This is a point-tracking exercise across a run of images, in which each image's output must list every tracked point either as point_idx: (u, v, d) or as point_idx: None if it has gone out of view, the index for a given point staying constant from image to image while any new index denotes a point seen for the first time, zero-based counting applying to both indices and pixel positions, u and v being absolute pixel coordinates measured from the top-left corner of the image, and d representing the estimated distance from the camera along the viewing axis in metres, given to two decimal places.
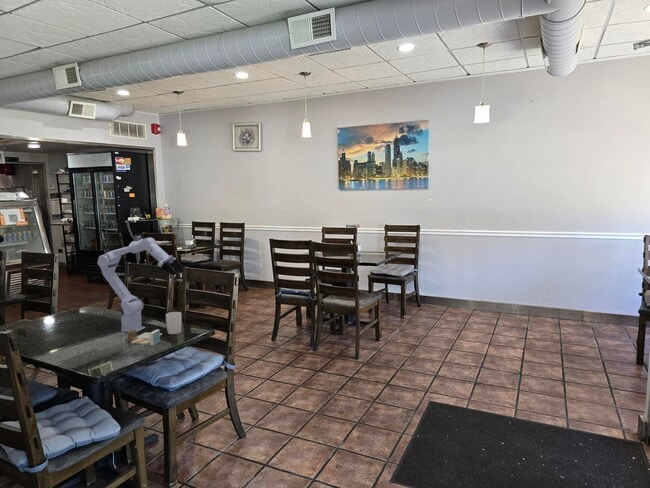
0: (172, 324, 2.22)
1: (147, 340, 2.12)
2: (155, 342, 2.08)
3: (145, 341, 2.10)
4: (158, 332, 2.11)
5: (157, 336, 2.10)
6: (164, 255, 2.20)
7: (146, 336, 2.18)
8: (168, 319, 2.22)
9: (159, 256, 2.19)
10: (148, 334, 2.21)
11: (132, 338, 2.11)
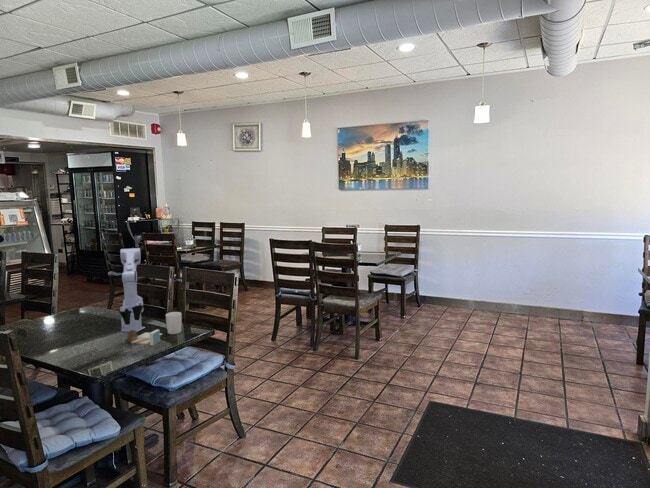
0: (172, 324, 2.22)
1: (147, 340, 2.12)
2: (155, 342, 2.08)
3: (145, 341, 2.10)
4: (158, 332, 2.11)
5: (157, 336, 2.10)
6: (133, 300, 2.09)
7: (146, 336, 2.18)
8: (168, 319, 2.22)
9: (128, 298, 2.08)
10: (148, 334, 2.21)
11: (132, 338, 2.11)
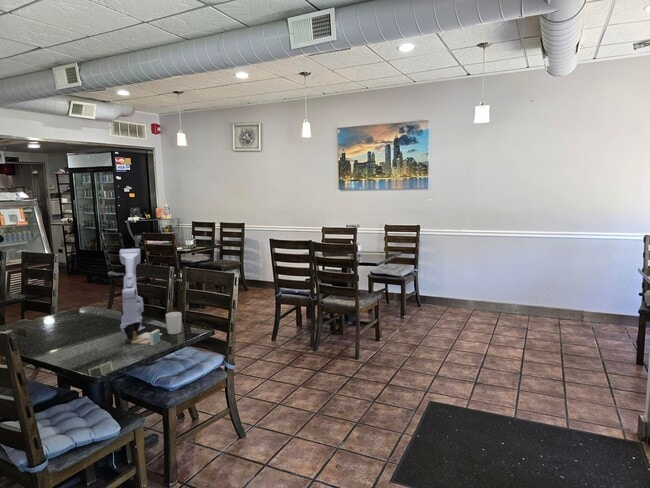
0: (172, 324, 2.22)
1: (147, 340, 2.12)
2: (155, 342, 2.08)
3: (145, 341, 2.10)
4: (158, 332, 2.11)
5: (157, 336, 2.10)
6: (133, 317, 2.09)
7: (146, 336, 2.18)
8: (168, 319, 2.22)
9: (128, 315, 2.08)
10: (148, 334, 2.21)
11: None
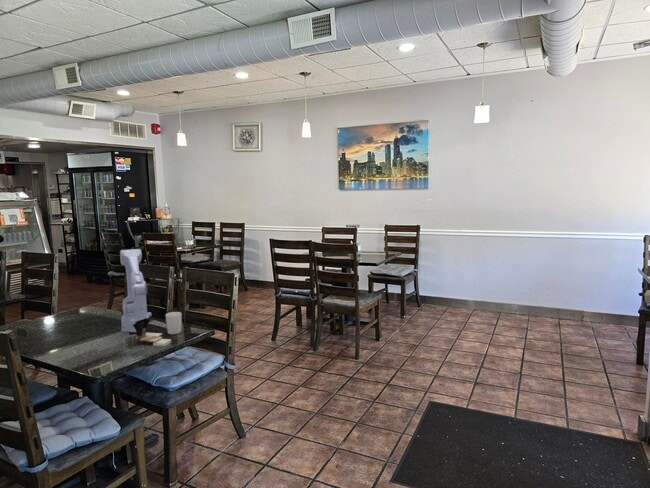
0: (172, 324, 2.22)
1: (156, 338, 2.10)
2: None
3: (154, 339, 2.08)
4: None
5: None
6: (143, 313, 2.07)
7: None
8: (168, 319, 2.22)
9: (138, 311, 2.06)
10: (148, 334, 2.21)
11: None
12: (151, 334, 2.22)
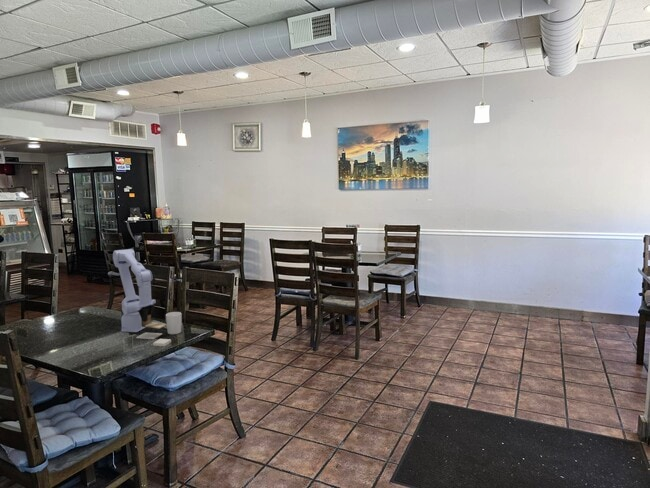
0: (172, 324, 2.22)
1: (161, 325, 2.18)
2: None
3: (159, 325, 2.17)
4: None
5: None
6: (147, 300, 2.16)
7: (146, 336, 2.18)
8: (168, 319, 2.22)
9: (143, 297, 2.15)
10: (148, 334, 2.21)
11: (146, 322, 2.17)
12: (151, 334, 2.22)
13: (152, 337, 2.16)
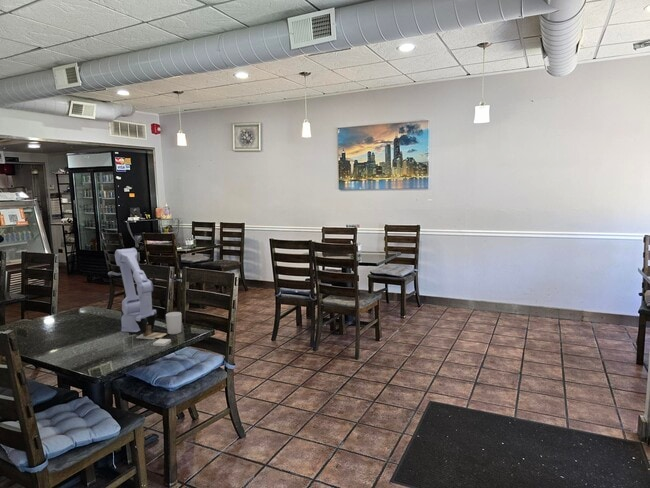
0: (172, 324, 2.22)
1: (161, 334, 2.19)
2: None
3: (160, 335, 2.18)
4: None
5: None
6: (148, 310, 2.17)
7: None
8: (168, 319, 2.22)
9: (143, 308, 2.16)
10: None
11: (147, 332, 2.18)
12: None
13: None
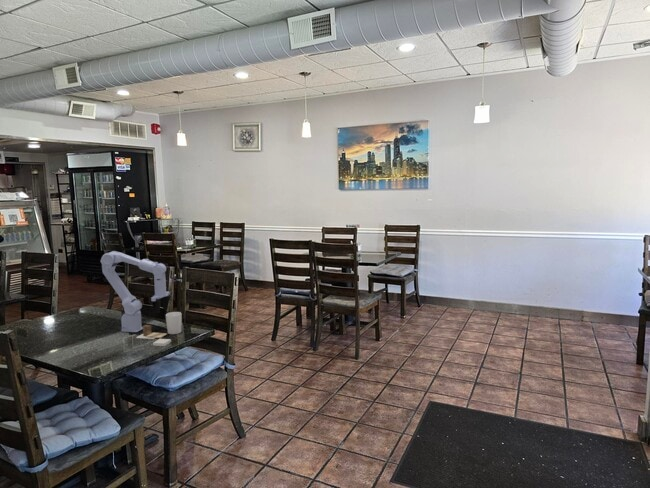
0: (172, 324, 2.22)
1: (161, 334, 2.19)
2: None
3: (160, 335, 2.18)
4: None
5: None
6: (162, 291, 2.27)
7: None
8: (168, 319, 2.22)
9: (158, 289, 2.26)
10: None
11: (147, 332, 2.18)
12: None
13: None
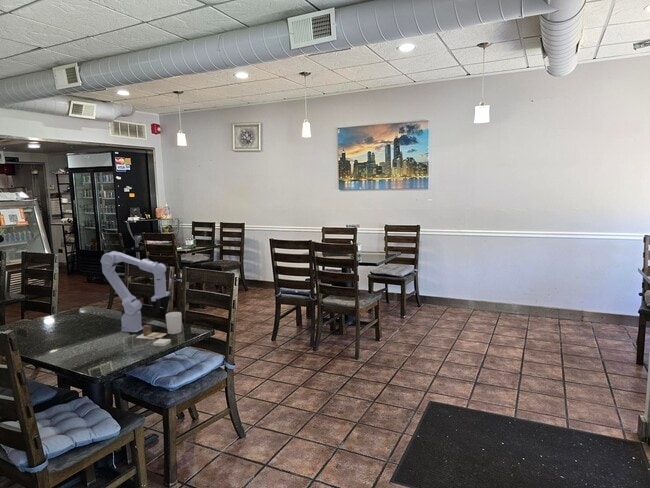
0: (172, 324, 2.22)
1: (161, 334, 2.19)
2: None
3: (160, 335, 2.18)
4: None
5: None
6: (162, 291, 2.27)
7: None
8: (168, 319, 2.22)
9: (158, 289, 2.26)
10: None
11: (147, 332, 2.18)
12: None
13: None
